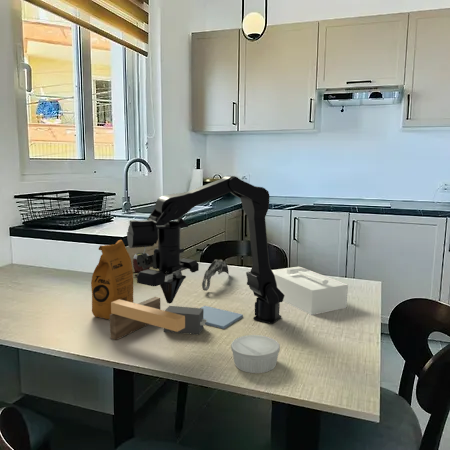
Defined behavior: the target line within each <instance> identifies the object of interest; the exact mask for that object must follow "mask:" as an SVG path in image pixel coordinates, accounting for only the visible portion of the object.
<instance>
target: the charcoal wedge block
mask: <svg viewBox="0 0 450 450" xmlns="http://www.w3.org/2000/svg"><path fill="white" fill-rule="evenodd" d="M164 311H168V312H171V313H175V314H179V315H183V316H185V328H184V329H182V330H180V331H178V332H176V331H173V330H169V329H165V328H163V333H172V332H174V334H184V333H189V334H188V335H196V334H198V336H199V335H200V334H201V332H202V331H203V329H204V326H205V323H206V322H207V319H203V313H204V309H202V308H201V307H189V306H178V305H176V306H175V305H169V306H167V308H165V310H164ZM190 333H191V334H190Z"/></svg>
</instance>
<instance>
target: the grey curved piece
mask: <svg viewBox="0 0 450 450" xmlns="http://www.w3.org/2000/svg"><path fill="white" fill-rule="evenodd" d="M222 273H225V274H227V276H229V266H228V264H227V261H226V260H223V259H214V260H213V261H212V262H211V264H210V265H209V266H208V268H207V270H205V271H204V275H203V278H202V282H201V287H202V288H201V289H202V291H209V289H210V287H211V286H210V285H211V278H212V277H214V276H215V275H216V274H218V275H221V274H222Z"/></svg>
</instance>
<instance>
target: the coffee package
mask: <svg viewBox="0 0 450 450" xmlns="http://www.w3.org/2000/svg"><path fill="white" fill-rule="evenodd" d="M98 250H99V251H100V252H101V253H102V254H100V257H99V259H98V263H97V265H96V266H95V268H94V271H93V273H92V276H91V282H90V285H91V286H90V287H91V313H92V314H93V316H94V317H95V318H101V319H106V320H109V321H110V315H111V314H112V313H111V302H113V301H116V300H119V299H120V300H124V301H128V302H132V303H134V271H133V270H134V268H133V261H132V259H131V256H130V253H129V252H128V250H127V247H126V246H125V243H124V241H123V240H122V239H119V240H117V241H116V242H115V244H104V245H99V246H98Z"/></svg>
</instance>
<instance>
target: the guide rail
mask: <svg viewBox="0 0 450 450" xmlns="http://www.w3.org/2000/svg"><path fill="white" fill-rule="evenodd" d="M137 304H140V305H144V306H148V307H152V308H156V309H160V310H161V297H158V296H153V297H150V298H149V299H146V300H143V301H141V302H139V303H137ZM149 325H150V324H148V323H144V322H141V321H137V320H133V319H130V318H126V317H123V316H119V315H116V314H111V315H110V319H109V333H110V334H109V335H110V336H109V339H111V340H114V341H117V340H120V339H121V338H124V337H126V336H128V335H130V334H132V333H134V332H136V331H137V330H140V329H142V328H144V327H147V326H149Z"/></svg>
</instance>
